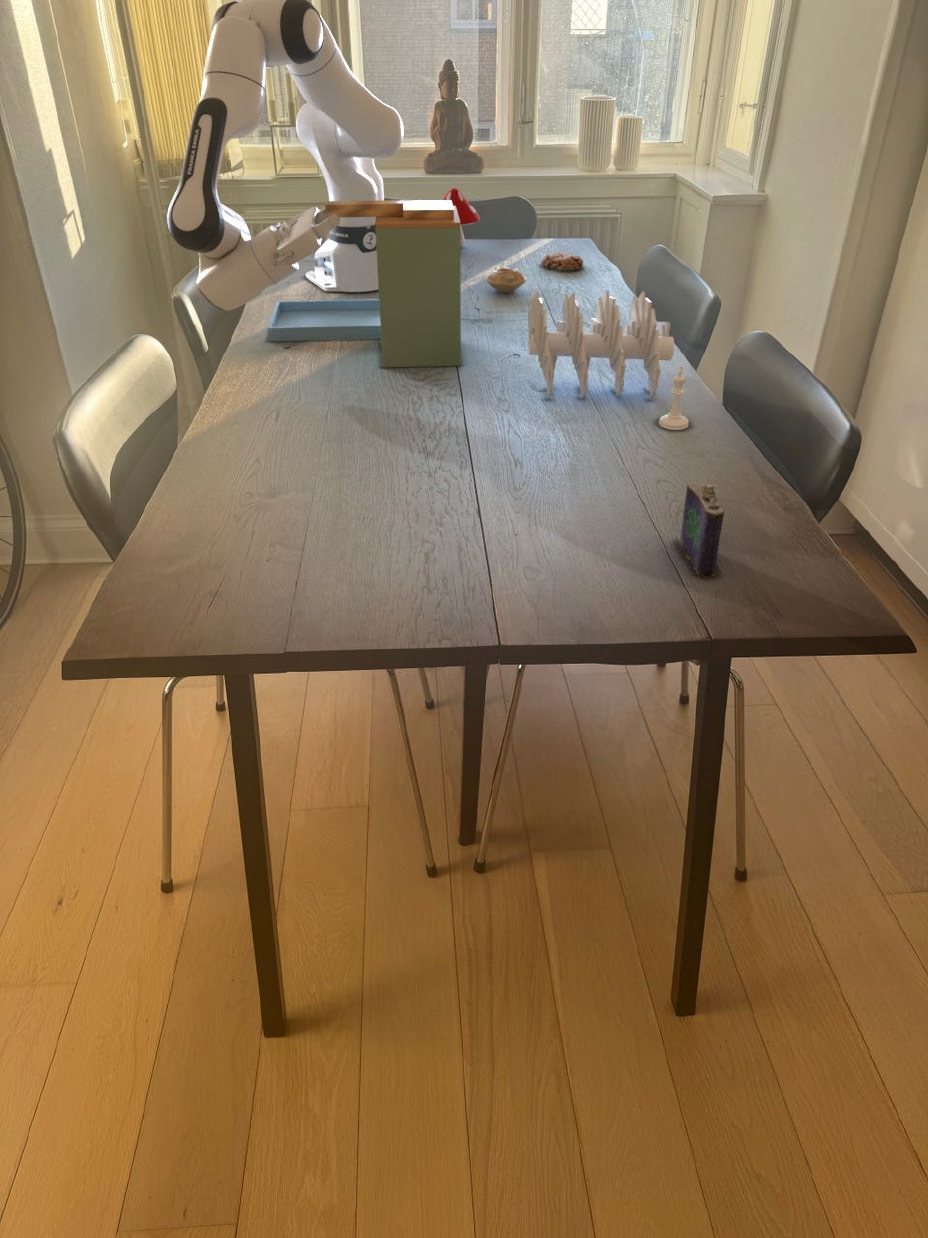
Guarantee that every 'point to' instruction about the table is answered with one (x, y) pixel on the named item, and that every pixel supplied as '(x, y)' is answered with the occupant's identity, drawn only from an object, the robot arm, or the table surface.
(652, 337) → the spiral staircase
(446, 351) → the plinth
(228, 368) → the table surface
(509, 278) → the pottery oil lamp
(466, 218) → the decorative mushroom
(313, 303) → the tray
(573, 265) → the cookie
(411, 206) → the paddle
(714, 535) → the flask
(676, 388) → the chess piece
